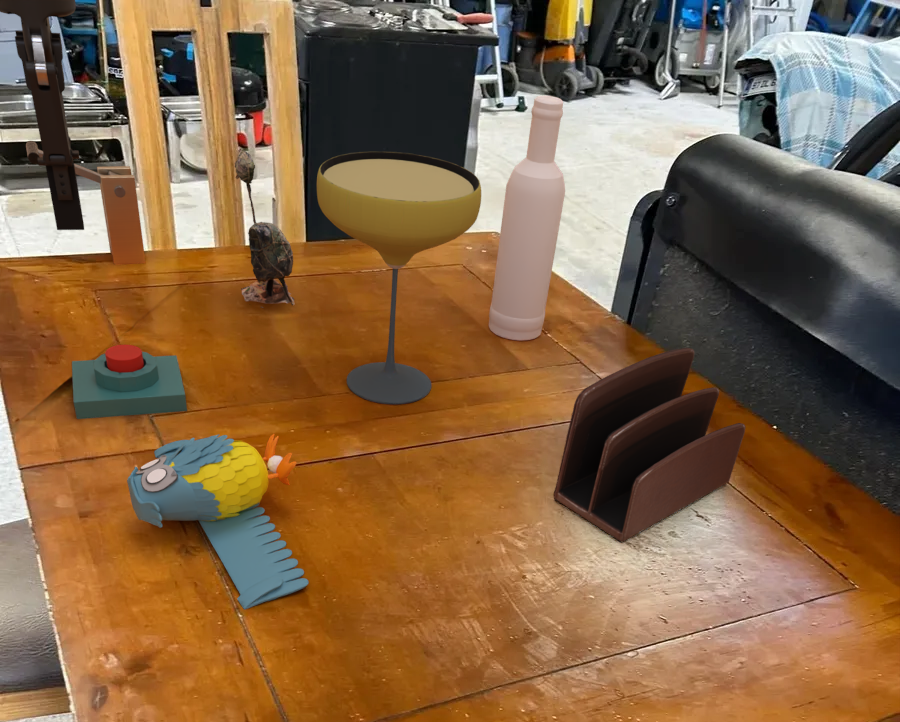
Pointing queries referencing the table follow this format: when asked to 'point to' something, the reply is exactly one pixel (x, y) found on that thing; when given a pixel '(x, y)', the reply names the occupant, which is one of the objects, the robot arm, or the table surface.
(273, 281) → the stone bird sculpture
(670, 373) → the letter holder
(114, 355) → the button
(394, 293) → the cocktail glass
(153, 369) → the button block
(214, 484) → the owl figurine
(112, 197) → the bracket
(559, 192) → the bottle
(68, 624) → the table surface
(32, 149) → the lever
